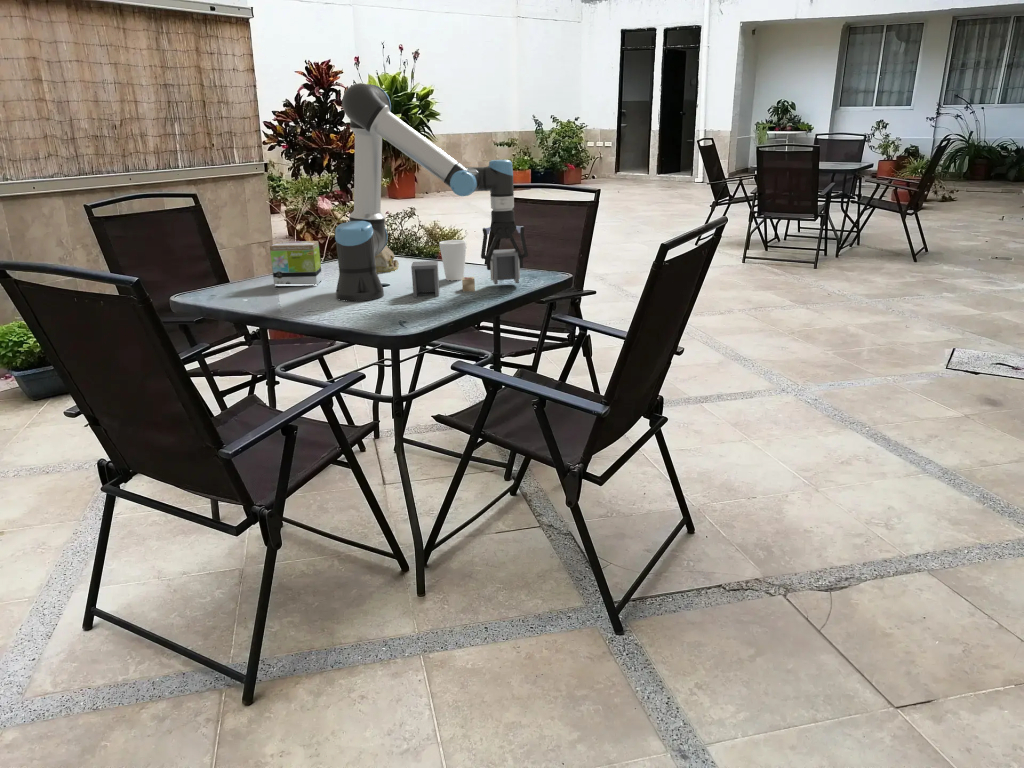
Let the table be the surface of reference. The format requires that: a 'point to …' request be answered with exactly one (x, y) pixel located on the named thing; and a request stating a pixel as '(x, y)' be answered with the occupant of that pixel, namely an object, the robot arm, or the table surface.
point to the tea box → (296, 262)
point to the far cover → (505, 265)
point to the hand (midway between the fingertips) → (505, 278)
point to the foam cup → (453, 258)
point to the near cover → (425, 277)
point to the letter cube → (468, 283)
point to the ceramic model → (386, 261)
